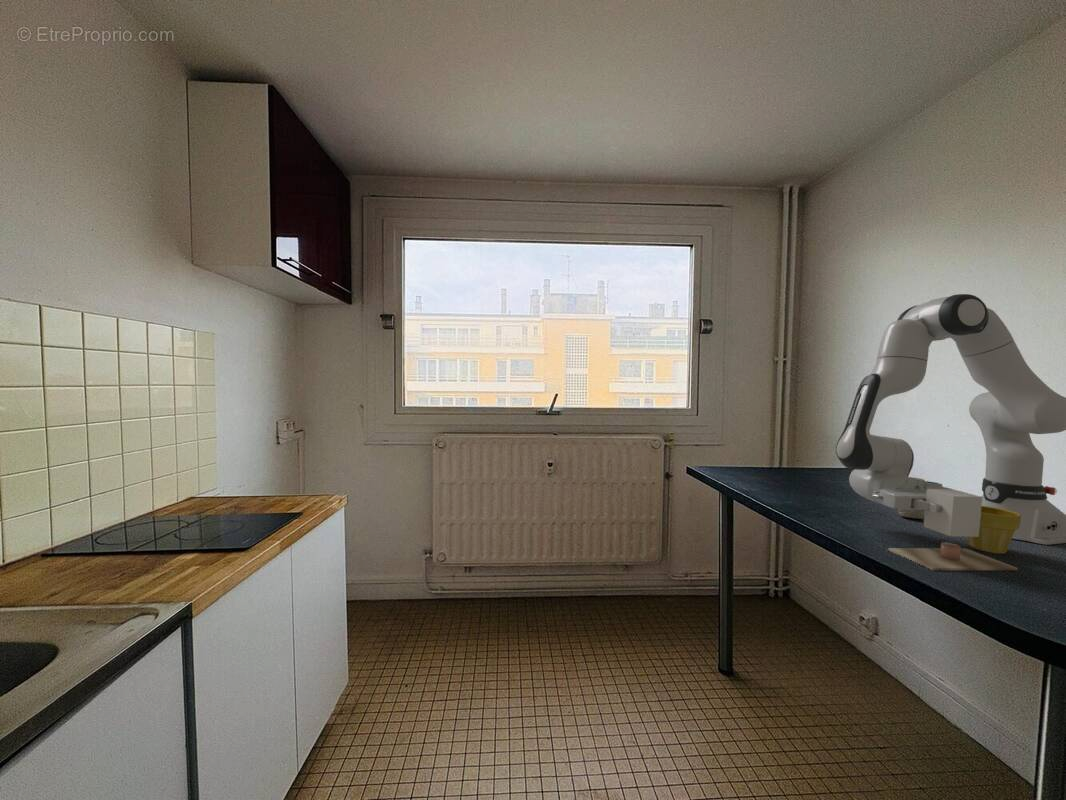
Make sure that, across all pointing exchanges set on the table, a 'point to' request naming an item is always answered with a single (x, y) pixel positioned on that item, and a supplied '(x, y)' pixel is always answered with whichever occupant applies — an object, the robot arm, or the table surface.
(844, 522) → the table surface
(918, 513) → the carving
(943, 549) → the brown rounded block
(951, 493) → the plain grey box
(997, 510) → the plant pot
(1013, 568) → the cork mat
